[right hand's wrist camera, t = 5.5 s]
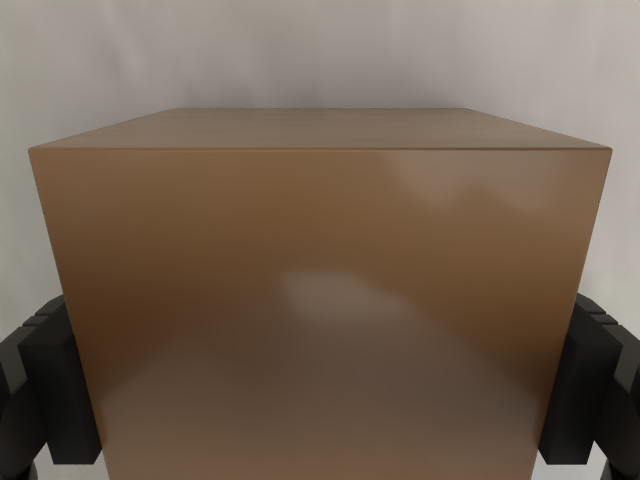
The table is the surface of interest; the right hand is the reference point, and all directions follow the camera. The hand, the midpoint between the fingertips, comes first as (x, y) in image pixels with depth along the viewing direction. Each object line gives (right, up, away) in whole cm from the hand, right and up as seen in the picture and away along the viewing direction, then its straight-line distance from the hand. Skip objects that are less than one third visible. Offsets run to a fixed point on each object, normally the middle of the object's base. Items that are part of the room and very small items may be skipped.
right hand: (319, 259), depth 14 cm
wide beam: (0, -29, +12) cm, 31 cm away
